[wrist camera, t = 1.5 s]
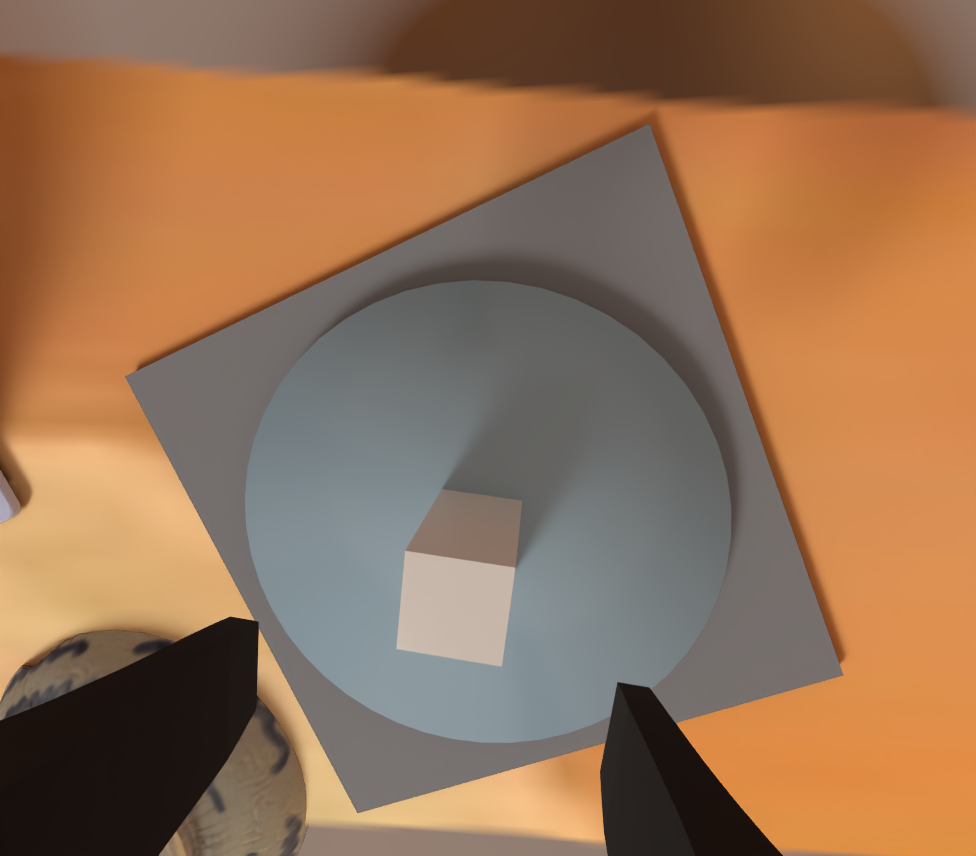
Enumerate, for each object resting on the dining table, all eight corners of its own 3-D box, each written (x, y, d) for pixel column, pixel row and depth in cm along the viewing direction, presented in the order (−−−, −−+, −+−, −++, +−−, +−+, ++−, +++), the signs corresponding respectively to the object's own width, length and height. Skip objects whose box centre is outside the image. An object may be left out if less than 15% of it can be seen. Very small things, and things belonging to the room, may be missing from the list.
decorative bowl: (49, 566, 22) (-34, 819, 25) (-45, 613, 18) (-128, 902, 22) (366, 721, 22) (245, 953, 25) (334, 798, 19) (198, 1057, 22)
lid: (251, 687, 21) (148, 818, 16) (262, 255, 18) (133, 224, 12) (672, 761, 20) (724, 934, 14) (773, 313, 17) (894, 309, 11)
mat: (133, 375, 20) (124, 376, 19) (647, 128, 16) (649, 123, 16) (360, 804, 22) (357, 813, 22) (837, 668, 19) (843, 675, 19)
